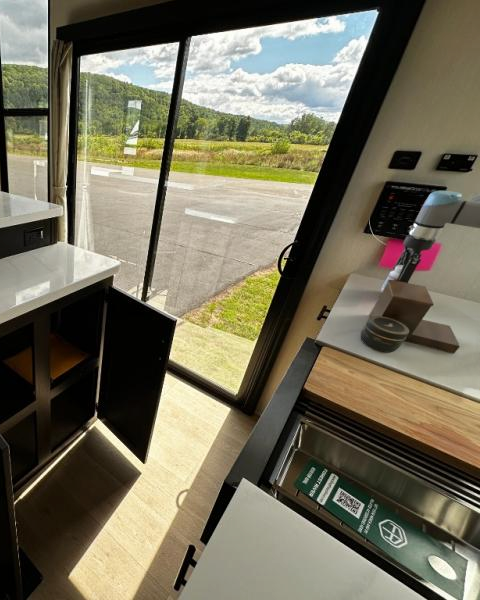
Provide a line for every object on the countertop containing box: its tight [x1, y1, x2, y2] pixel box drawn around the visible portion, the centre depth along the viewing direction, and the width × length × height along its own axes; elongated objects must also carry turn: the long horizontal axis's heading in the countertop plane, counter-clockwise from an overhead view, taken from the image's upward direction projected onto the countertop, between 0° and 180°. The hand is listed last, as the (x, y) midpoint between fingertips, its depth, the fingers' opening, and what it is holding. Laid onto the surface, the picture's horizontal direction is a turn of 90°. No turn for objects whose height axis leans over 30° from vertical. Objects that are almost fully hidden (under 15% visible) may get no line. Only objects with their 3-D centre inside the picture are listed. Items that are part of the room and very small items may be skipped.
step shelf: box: [368, 279, 461, 354], centre depth 103 cm, size 20×12×15 cm, turn 56°
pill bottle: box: [380, 265, 410, 293], centre depth 122 cm, size 6×6×11 cm
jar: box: [359, 316, 409, 353], centre depth 101 cm, size 10×10×8 cm
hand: (390, 292), depth 125 cm, fingers closed on pill bottle, 6 cm apart
